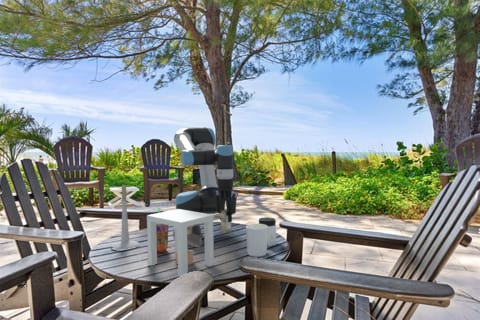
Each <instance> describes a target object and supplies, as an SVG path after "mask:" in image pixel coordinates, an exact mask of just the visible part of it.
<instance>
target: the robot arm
mask: <svg viewBox="0 0 480 320" xmlns="http://www.w3.org/2000/svg"><path fill="white" fill-rule="evenodd" d="M173 141H174V144H175V146H176V147H177V148H179V149H180V151H181V153H180V161H181V162H180V163H181V165H182V166H187V167H192V166H194V167H195V166H198V168H199V175H200V183H201V189H200V190H199V193H198V191H197V190H191V191H184V192H180V193H177V195H176V196H175V202H174V203H175V210H176V209H182V210H188V211H194V212H200V213H206V214H212V215H216V214H220V213H221V211H222V210H226V209H227V214H226V229H227V230H228V229H231V230H232V222H233V215H235V214H236V211H237V198H238V195H239V193H238V192H235V191H234V189H233V188H234V187H233V186H234V149H233V146H232V145H231V144H230V145H229V144H226V145H225V144H224V145H222V144H221V145H219V144H218V145H217V146H216V149H214V147H215V145H216V142H217V141H216V134H215V131H214V129H213V128H210V127H183V128H180V129H179V130H178V131H177V132H175V134H174V136H173ZM215 166H216V171H215ZM215 172H216V173H215ZM216 176H217V178H216ZM225 208H226V209H225ZM219 220H220V222H221V219H219ZM202 231H203V230H202V228H201V224H200V225H196V226H193V227H192V234H195V235H199V236H201V237H202ZM172 236H173V238H174V237H175V231H174V230H173V231H172Z"/></svg>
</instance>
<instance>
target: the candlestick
mask: <svg viewBox="0 0 480 320" xmlns="http://www.w3.org/2000/svg"><path fill="white" fill-rule="evenodd" d="M128 200H129V199H128V198H127V185H125V184H122V185H121V199H120V201H121V205H122V207H121V236H120V241H117V242H115V243H113V245H111V246H112V247H113V248H115V249H128V248H133V247H137V246H138V245H139V244H140V243H139V242H138V241H136V240H130V233H129V223H128V222H129V221H128V207H127V204H128Z"/></svg>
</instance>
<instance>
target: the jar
mask: <svg viewBox="0 0 480 320" xmlns="http://www.w3.org/2000/svg"><path fill="white" fill-rule="evenodd" d="M276 223H277V220H276V218H274V217H269V216H268V217H267V216H266V217H265V216H264V217H261V218H258V224H265V225H267V226H268V234H267V247H273V246H276V245H277V225H276Z"/></svg>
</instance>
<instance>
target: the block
mask: <svg viewBox="0 0 480 320" xmlns="http://www.w3.org/2000/svg"><path fill="white" fill-rule="evenodd" d="M187 256H188V266H190V265H192V264H194V261H195V260H194V250H192V249H191V250H190V249H188V248H187ZM177 264H178V253H177V252H176V256H175V265H177Z"/></svg>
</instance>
